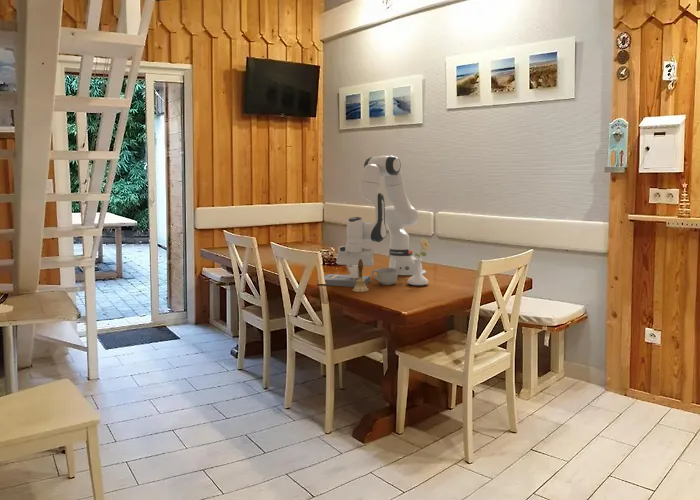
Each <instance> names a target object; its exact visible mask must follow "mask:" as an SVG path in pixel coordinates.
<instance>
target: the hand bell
mask: <svg viewBox="0 0 700 500" xmlns="http://www.w3.org/2000/svg"><path fill="white" fill-rule="evenodd" d="M358 269H359V279H357V280H356V285H355V287H353V288H352V292H356V293H365V292H369V290H370V289H369V288H368V287H367V284H365V280H364V279H362V276H363V269H364V268H363V262H362V259H359V263H358Z"/></svg>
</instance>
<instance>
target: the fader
mask: <svg viewBox="0 0 700 500" xmlns="http://www.w3.org/2000/svg"><path fill="white" fill-rule="evenodd" d="M358 271H359V269H358V266H357V265H350V273H349V275H350V278H359V274H358Z"/></svg>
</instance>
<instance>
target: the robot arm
mask: <svg viewBox="0 0 700 500" xmlns="http://www.w3.org/2000/svg"><path fill="white" fill-rule="evenodd" d="M401 168H402V164H401V160H400V159H399V157H398V156H395V155H380V156H371V157H368V158H367V159H365V162H364V164H363V170H362V173H361V175H360V176H361V177H360V180H359V190H358V191H359V195H360V196H361V198H363V200H366V201H367V202H370V203H371V204H372V205H374V209H375V211H374V212H375V213H374V214H375V222H365V221H363V219H362V217H360V216H352V217H350V218H348V219H347V223H346V236H347V238H346V239H347V240H346V244H344V245H341V246H339V247H338V248H337V251H338V252H337V254H336V264H337V265H340V266H342V265H343V266H346V269H347V270H348V274H350V267H351V266H353V265H354V266H358V263H359V259H362V262H363V269H364V268H365V267H373V266H374V264H375V260H374V256H375V255H374V254H375V253H374V249H372V248H368V247H367V248H365V247H364V241H369V242H370V241H371V242H376V243H380V242H382V241H383V240H384V239H386V237H387V230H388V233H389V244H390V245H389V253H388V255H389V256H388V257H389V263H388V268H395V269H397V270H398V274H397V276H413V275H414V274H415V271H416V265H415V262H414V260H413V259H417V258H416V257H415V255H413V252H414V251H413V250H414V249H410V235H409V233H408V232H406V230H405V227H404V226H406V227H407V226H408V227H410V226H414V225H416V224H417V222H418V221H419V219H420V218H419V217H420V214H419V211H418V210H417V209H416V208H415V207H414V206H413V205H412V203H411V202H410V199H409V198H408V195H407V192H406V187H405V181H404V177H403V173H402V169H401ZM382 177H383V181H384V189H385V193H386V194H385V195H386V198H387V199H388V201H390V203H391V204H392V205H388V206H385V205H386V204H385V203H386V202H385V197H384V194H383V193H381V182H382V181H381V178H382ZM422 265H423V264H422V263H421V264H420V273H421V274H422V275H423V276H424V275H425V274H426V273H427V271H426V269H423V266H422ZM358 274H359V271H358Z"/></svg>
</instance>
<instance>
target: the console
mask: <svg viewBox="0 0 700 500" xmlns="http://www.w3.org/2000/svg"><path fill="white" fill-rule="evenodd" d="M323 277H324V279H325V282H326V285H325V286H333V287H334V286H335V287H348V288H349V287H350V288H354V287H355V285H356V280H357V279H359V278H350V274H337V273H336V274H335V273H328V274H326V275H324V276H323ZM362 279H364V280H365V284H366V285H368V284H369V283H371V276H369V275H362Z"/></svg>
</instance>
